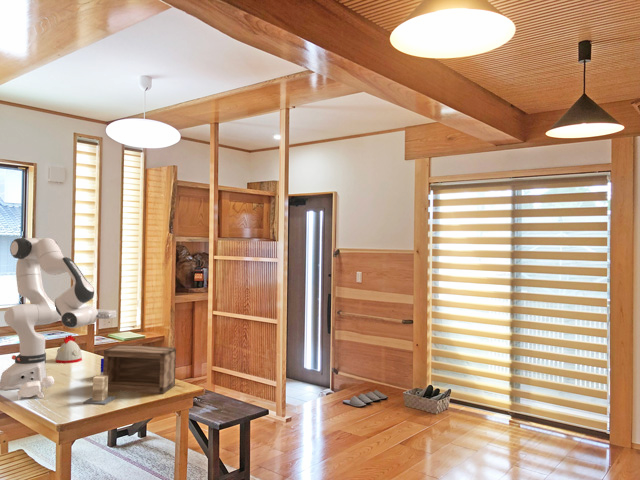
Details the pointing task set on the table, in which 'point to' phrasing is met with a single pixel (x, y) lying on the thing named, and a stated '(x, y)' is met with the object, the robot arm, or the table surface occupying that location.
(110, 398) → the slate mat
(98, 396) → the beech block
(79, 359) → the kitchen timer
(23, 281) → the robot arm
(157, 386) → the brown wooden box
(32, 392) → the white animal figurine
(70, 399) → the table surface
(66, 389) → the table surface
